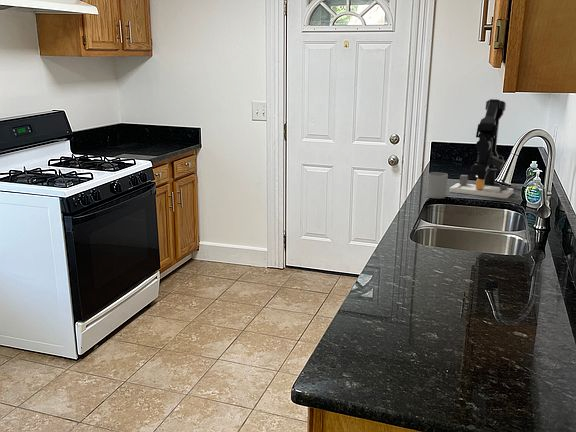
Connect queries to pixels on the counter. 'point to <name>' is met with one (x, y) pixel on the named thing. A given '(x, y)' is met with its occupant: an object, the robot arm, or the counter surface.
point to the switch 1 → (463, 179)
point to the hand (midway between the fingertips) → (482, 184)
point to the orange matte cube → (480, 183)
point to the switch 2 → (503, 187)
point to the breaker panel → (481, 190)
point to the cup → (437, 185)
